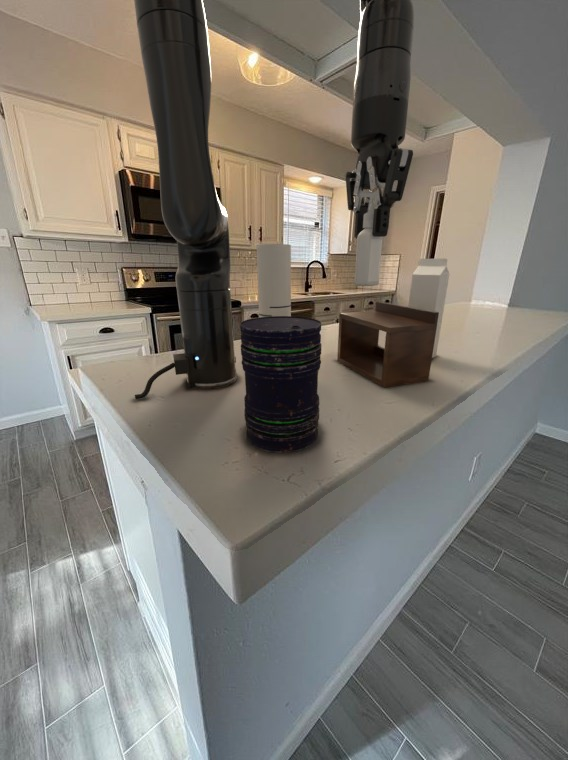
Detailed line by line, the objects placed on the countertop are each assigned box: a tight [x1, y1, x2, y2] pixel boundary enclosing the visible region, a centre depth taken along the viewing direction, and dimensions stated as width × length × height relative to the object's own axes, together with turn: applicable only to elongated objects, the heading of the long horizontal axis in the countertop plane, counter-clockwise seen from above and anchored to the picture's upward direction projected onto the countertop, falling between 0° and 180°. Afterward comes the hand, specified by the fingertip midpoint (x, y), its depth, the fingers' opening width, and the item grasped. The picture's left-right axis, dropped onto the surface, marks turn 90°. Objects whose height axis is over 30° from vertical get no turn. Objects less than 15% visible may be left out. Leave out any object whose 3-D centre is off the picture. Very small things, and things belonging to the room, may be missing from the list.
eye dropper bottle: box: [354, 203, 383, 287], centre depth 51 cm, size 4×6×12 cm
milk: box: [407, 258, 450, 359], centre depth 74 cm, size 6×6×22 cm
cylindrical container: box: [256, 243, 292, 318], centre depth 72 cm, size 7×7×25 cm
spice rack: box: [336, 301, 439, 388], centre depth 66 cm, size 10×18×13 cm, turn 20°
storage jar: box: [239, 315, 322, 454], centre depth 41 cm, size 10×10×15 cm
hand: (370, 237), depth 51 cm, fingers closed on eye dropper bottle, 4 cm apart
